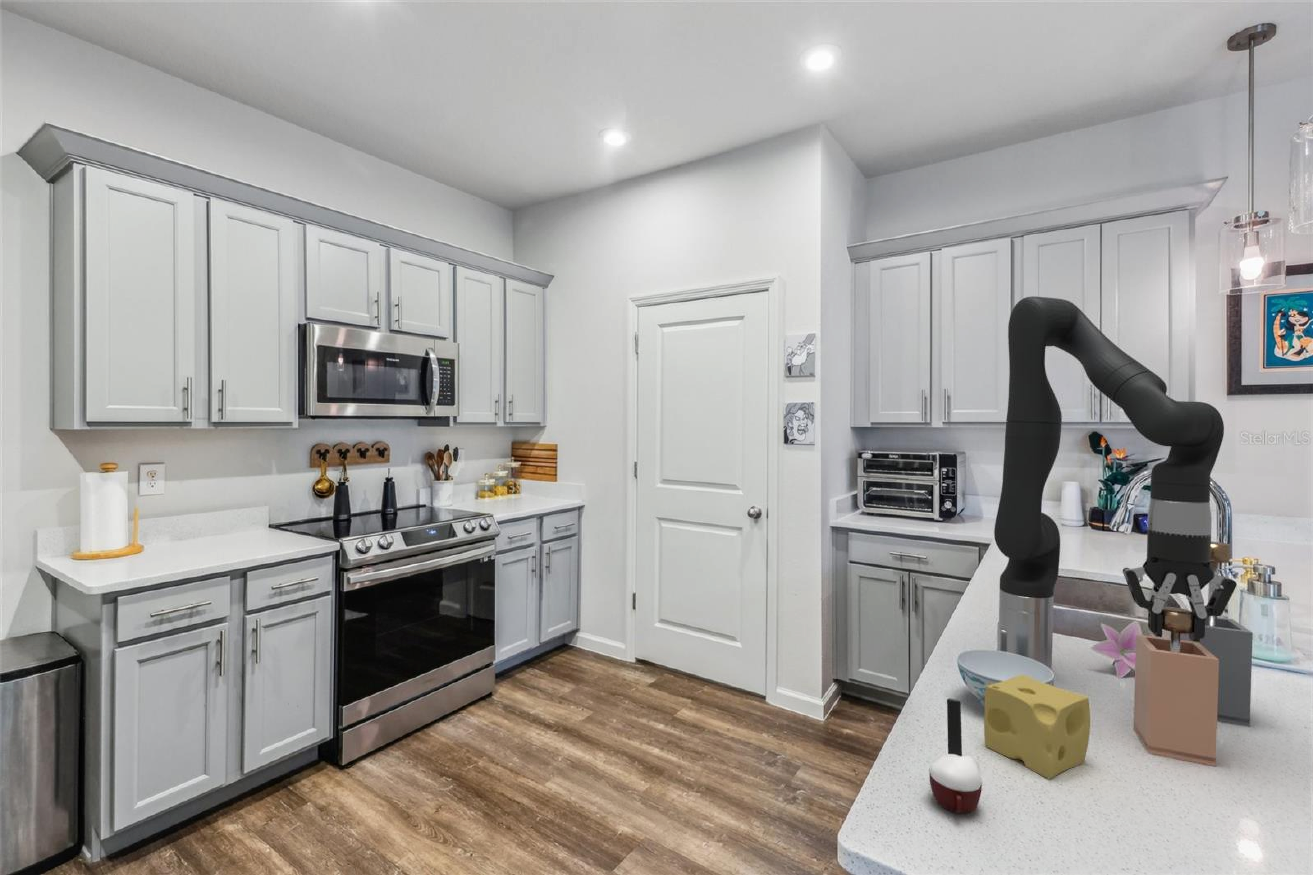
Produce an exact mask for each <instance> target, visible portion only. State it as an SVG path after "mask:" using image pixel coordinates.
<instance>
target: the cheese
mask: <svg viewBox="0 0 1313 875" xmlns="http://www.w3.org/2000/svg"><path fill="white" fill-rule="evenodd" d="M1090 709H1091V708H1090V698H1089V696H1086V695H1084V694H1081V693H1080V694H1079V693H1077V692H1074V691H1070V690H1066V689H1063V688H1060V687H1057V686H1054V685H1052V686H1051V685H1049V684H1046V683H1043V682H1040V681H1038V680H1035V679H1032V678H1030V677H1027V676H1025V675H1019V676H1016V677H1013V678H1010V679H1008V680H1005V681H1002V682H999V683H995V684H991V685H988V686H986V691H985V708H984V715H983V716H984V720H983V727H984V728H983V732H984V733H983V734H984V745H985V747H986V748H988V749H990V750H992V751H994V752H996V753H999V754H1000V755H1002V756H1004V757H1007V758H1009V759H1012V760H1018V761H1023V763H1024V765H1025V768H1027V769H1030V770H1031V771H1033V772H1035V773H1036V774H1039V775H1040V776H1042V777H1044V778H1045V779H1048V780H1051V779H1053V778H1054V777H1056V776H1057V775H1059V774H1060V773H1062V772H1064V771H1065V772H1066V771H1067V770H1068V769H1071V768H1073V767H1077V766H1078V765H1081V764H1084V763H1085V760H1086V756H1087V751H1088V746H1089V740H1090V734H1091V733H1090V730H1091V710H1090Z"/></svg>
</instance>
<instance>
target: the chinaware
mask: <svg viewBox="0 0 1313 875" xmlns="http://www.w3.org/2000/svg"><path fill="white" fill-rule="evenodd" d="M956 663H957V668H958V671H959V673H960V676H961V679H962V680H963V683H964V685H965V686H966V688H967V689H968V690H969V691H970V692H971V693H972V694H973V695H974V696H975V697H976V698H977V699H978V700H979V701H981V702H980V703H981V706H982V705H983V706H982V707H983V708H984V709H985V691H986V686H988V685H991V684H995V683H999V682H1002V681H1005V680H1008V679H1010V678H1013V677H1016V676H1019V675H1025V676H1027V677H1030V678H1032V679H1035V680H1038V681H1040V682H1043V683H1046V684H1049V685H1051V686H1053V683H1054V678H1055V674H1054V672H1053V670H1051V669H1049V668H1048V667H1047V666H1045V665H1043V664H1042V663H1040V662H1038V661H1035V660H1033V659H1030V658H1027V657H1024V656H1021V655H1017V654H1013V653H1008V652H1003V651H997V649H996V650H995V649H981V648H980V649H970V650H965V651H961V652H960V653H958V654H957V656H956Z"/></svg>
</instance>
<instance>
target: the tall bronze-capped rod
mask: <svg viewBox="0 0 1313 875" xmlns="http://www.w3.org/2000/svg"><path fill="white" fill-rule="evenodd" d="M1230 559H1231V544H1228V543H1226V542H1219V541H1211V561H1210V566H1211V569H1212V570H1213V572H1214V574H1216V575H1219V563H1220V564H1229V563H1230V561H1231V560H1230ZM1212 584H1213V581H1212V580H1211V581H1210V582H1209V583H1208V593H1207V594H1208V595H1207V598H1208V599H1207V603H1208V602H1209V600H1210V598H1211V596H1212V594H1213V592H1214V590H1215V588H1214V587H1213V585H1212ZM1217 617H1218V616H1209V617H1208V622H1207V626H1213V627H1217Z"/></svg>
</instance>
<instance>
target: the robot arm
mask: <svg viewBox="0 0 1313 875" xmlns="http://www.w3.org/2000/svg"><path fill="white" fill-rule="evenodd" d="M1007 325H1008V326H1007V327H1008V330H1007V331H1008V332H1007V339H1008V343H1007V344H1008V360H1009V361H1008V362H1009V365H1008V366H1009V367H1008V370H1009V372H1008V374H1009V377H1008V378H1009V380H1008V398H1007V399H1008V400H1007V411H1006V412H1007V414H1006V420H1005V422H1006V423H1005V431H1004V432H1005V433H1004V434H1005V436H1004V454H1003V464H1002V465H1003V467H1002V483H1001V484H1002V485H1001V492H1000V497H999V502H998V508H997V513H996V517H995V522H994V530H993V531H994V532H993V533H994V534H993V536H994V541H995V544H996V546H997V548H998V550H999V551H1000V552H1001V554H1002V555H1004V556H1005V557H1007V558H1008V561H1007V564H1006V567H1005V569H1004V570H1003V571H1002V573H1001V575H1000V576H999V597H998V598H999V601H998V604H999V605H998V622H997V633H996V634H997V636H996V637H997V638H996V639H997V640H996V643H997V644H996V651H1003V652H1008V653H1013V654H1017V655H1021V656H1024V657H1027V658H1030V659H1033V660H1035V661H1038V662H1040V663H1042V664H1043V665H1045V666H1047V667H1048V668H1049V669H1051V670H1052V669H1053V641H1054V640H1053V637H1054V634H1053V632H1054V631H1053V630H1054V600H1055V599H1054V598H1055V597H1054V595H1055V594H1054V593H1055V591H1054V590H1055V586H1056V583H1057V581H1058V577H1059V570H1060V569H1059V568H1060V567H1059V566H1060V556H1061V555H1060V554H1061V536H1060V535H1061V533H1060V531H1059V530H1060V529H1059V527H1058V525H1057V524H1056V522H1055V520H1054V519H1053V518H1052V517H1051V516H1049V515H1048V514H1046V513H1044V512H1042V506H1043V504H1042V503H1043V494H1044V489H1045V486H1046V483H1047V480H1048V478H1049V476H1050V473H1051V471H1052V468H1053V467H1054V465H1055V462H1056V459H1057V456H1058V453H1059V449H1060V444H1061V438H1062V437H1061V436H1062V424H1063V422H1062V421H1063V420H1062V418H1063V416H1062V410H1061V407H1060V403H1059V401H1058V399H1057V396H1056V394H1055V392H1054V390H1053V388H1052V386H1051V384H1050V381H1049V379H1048V374H1047V372H1046V363H1045V362H1046V347H1055V348H1058V349H1059V350H1061V351H1064V352H1065V353H1067V354H1069V355H1071V356H1073V357H1074V358H1075V359H1076V360H1077V361H1079V363H1080V364H1081V365H1082V367H1083V370H1084V372H1085V374H1086V377H1087V379H1089V381H1090V382H1091V384H1092V385H1093V386H1094V387H1095V388H1096V389H1097V391H1099V392H1101V393H1102V394H1103V395H1104V396H1105V397H1107V398H1108V399H1109V400H1110V401H1111V402H1113V404H1116V406H1117V407H1119V408H1120V409H1122V410H1123V412H1124V414H1125V416H1126V417H1127V419H1128V420H1129V421H1130V422H1131V424H1132V425H1133V427H1134V428H1135V430H1137V432H1138V433H1139V434H1140V435H1142V437H1144V438H1145V439H1147V440H1148V441H1150V442H1152V443H1154V444H1156V445H1158V446H1161V447H1170V450H1169V453H1168V456H1167V458H1166V459H1165V460H1164V461H1161V462H1158V463H1156V464H1155V465H1154V466H1153V467H1152V469H1151V474H1150V492H1149V493H1150V494H1149V495H1150V496H1149V497H1150V499H1149V500H1150V501H1149V506H1148V511H1147V519H1146V525H1147V526H1146V527H1147V534H1146V536H1147V538H1146V539H1147V540H1146V559H1145V561H1144V563H1143V564H1142V566H1139V567H1135V568H1134V567H1133V568H1130V567H1124V568H1123V569H1122V574H1123V577H1124V580H1125V581H1126V584H1127V586H1128V590H1129V592H1130V594H1131V597H1132V599H1133V601H1134V603H1135V604H1136V605H1137V606H1138V607H1139V608H1143V609H1144V610H1145V609H1146V610H1147V612H1148V613H1147V628H1148V630H1149V631H1150V632H1151V633H1152V635H1154V637H1161V638H1163V629H1162V627H1163V614H1161V611H1162V609H1163V607H1164V606H1165V603H1166V601H1168V599H1169V596H1170V595H1178V594H1180V595H1184V596H1185V597H1186V599H1187V601H1188V604H1189V608H1190V611H1191V612H1193V633H1191V634H1189V638H1190V639H1191V640H1192V641H1195V642H1199V641H1200V638H1201V639H1203V638H1204V636H1205V619H1206V618H1207V617H1209V616H1217V617H1221V616H1222V615H1223V613H1224V611H1225V609H1226V607H1227V605H1228V603H1229V602H1230V600H1231V598H1232V595H1233V594H1234V592H1235V590H1236V587H1237V582H1236V581H1235V580H1234V579H1232V578H1230V577H1227V576H1221V575H1219V574H1218V575H1216V574H1214V572H1213V570H1212V569H1211V566H1210V561H1211V542H1212V521H1213V520H1212V518H1213V517H1212V510H1211V502H1210V500H1211V473H1212V471H1213V469H1214V466H1215V464H1216V462H1217V458H1218V455H1219V452H1220V449H1221V445H1222V442H1223V441H1224V440H1223V439H1224V433H1225V425H1224V420H1223V417H1222V414H1221V413H1220V411H1219V410H1218V409H1217V408H1216V407H1214V406H1213V405H1212V404H1210V403H1207V402H1204V401H1177V400H1175V399H1173V398H1171V397H1169V396H1168V395H1167V392H1168V391H1167V390H1168V386H1167V384H1166V383H1165V382H1166V381H1164V379H1162V378H1161V377H1160V376H1159V375H1157V374H1156V373H1155V372H1153V371H1152V370H1150V368H1148V367H1146V366H1145V365H1143V364H1142V363H1141V362H1139V361H1137V360H1136V359H1135V358H1133V357H1132V356H1130V354H1128V353H1126V351H1124V350H1122V349H1121V348H1120V347H1118V346H1117V345H1116V344H1115V343H1114V342H1113V341H1112V340H1110V339H1109V338H1108V337H1107V336H1106V335H1105V334H1104V333H1103V332H1102V331H1101V330H1100V329H1099V328H1098V327H1097V326H1096V325H1095V324H1094V323H1093V322H1092V321H1091V320H1090V319H1089V318H1088V316H1087V315H1086V314H1085V313H1084V312H1083V311H1082V310H1081V309H1080V308H1079V307H1078V306H1077V304H1075V303H1074V302H1071V301H1070V300H1068V299H1063V298H1056V297H1055V298H1054V297H1046V296H1045V297H1044V296H1034V295H1033V296H1026V297H1024V298H1022V299H1020V300H1019V301H1018V302H1017V303H1016V304H1015V306H1014V307H1013V308H1012V311H1011V313H1010V315H1009V320H1008V324H1007ZM1144 575H1146V576H1147V577H1148V578H1149V580H1150V581H1151V582H1152V583H1153V585H1152V588H1151V589H1150V590H1151V591H1150V597H1149V599H1146V597H1145V594H1144V592H1143V589H1142V586H1141V583H1142V582H1143V581H1144ZM1211 580H1212V581H1213V584H1212V585H1213V587H1214V588H1215V590H1214V592H1213V594H1212V596H1211V598H1210V600H1209V602H1208V601H1207V604H1206V605H1205V600H1204V597H1203V593H1202V590H1203V589H1204V588H1205V587H1206V586H1207V585H1209V582H1210V581H1211ZM1052 671H1053V670H1052Z"/></svg>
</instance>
